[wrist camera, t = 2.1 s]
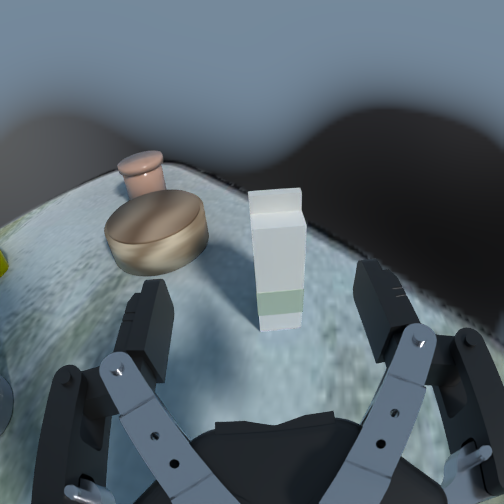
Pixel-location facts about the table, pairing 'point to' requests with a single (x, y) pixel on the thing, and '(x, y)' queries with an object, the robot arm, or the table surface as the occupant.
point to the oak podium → (157, 232)
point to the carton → (278, 256)
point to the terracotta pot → (142, 173)
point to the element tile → (3, 264)
